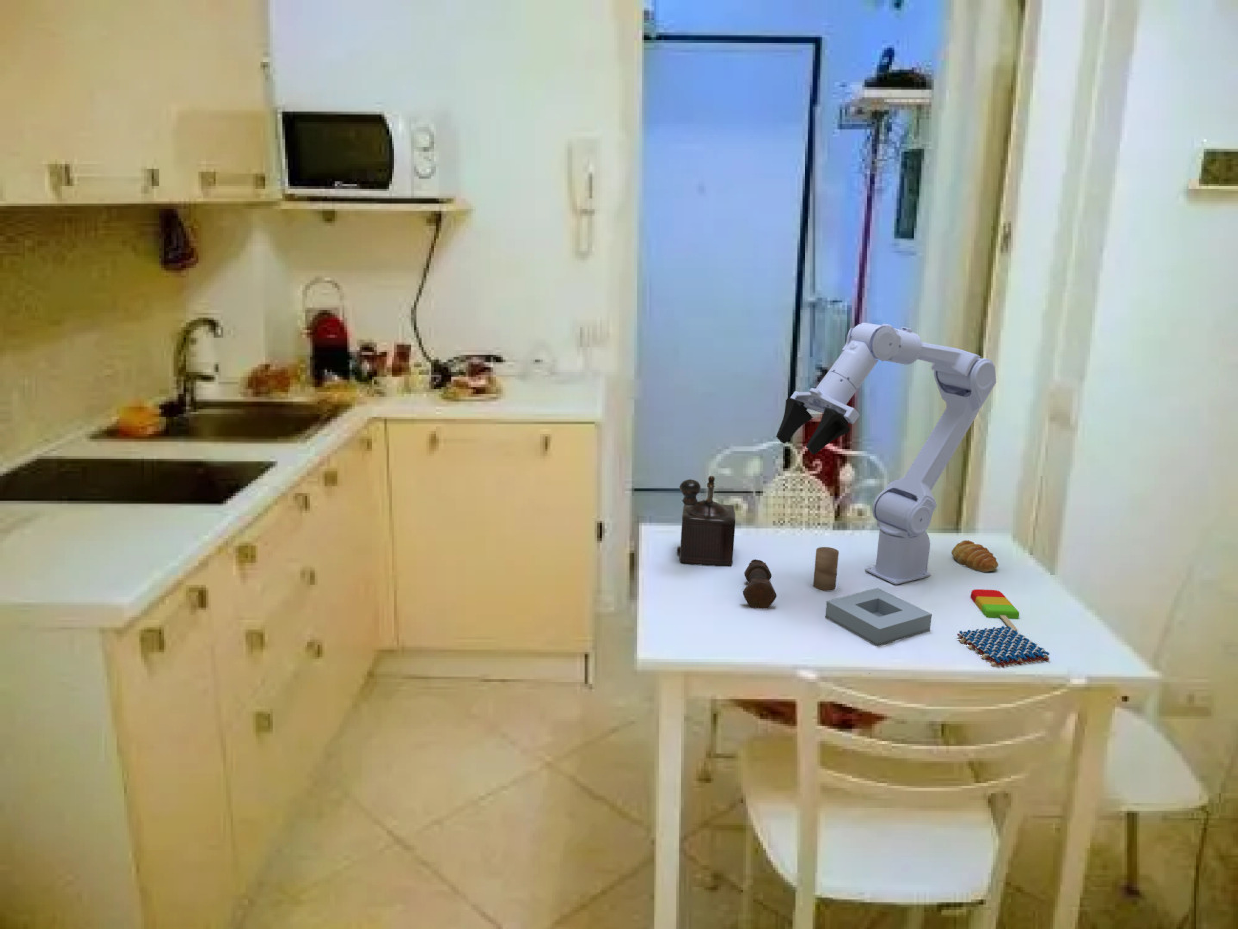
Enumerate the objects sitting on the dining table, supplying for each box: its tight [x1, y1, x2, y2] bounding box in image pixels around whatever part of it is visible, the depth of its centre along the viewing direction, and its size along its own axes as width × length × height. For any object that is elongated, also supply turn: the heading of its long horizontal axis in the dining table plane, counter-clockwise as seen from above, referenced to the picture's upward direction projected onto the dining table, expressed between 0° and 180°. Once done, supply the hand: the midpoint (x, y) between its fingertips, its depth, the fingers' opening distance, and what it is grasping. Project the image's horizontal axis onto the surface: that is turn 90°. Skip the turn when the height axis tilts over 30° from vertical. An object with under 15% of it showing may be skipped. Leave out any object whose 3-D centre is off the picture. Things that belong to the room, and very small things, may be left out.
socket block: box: [824, 587, 933, 647], centre depth 152 cm, size 12×12×3 cm
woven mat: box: [956, 625, 1051, 668], centre depth 144 cm, size 10×11×2 cm
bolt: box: [742, 559, 778, 610], centre depth 164 cm, size 6×5×15 cm
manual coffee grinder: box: [676, 475, 736, 567], centre depth 176 cm, size 16×11×18 cm
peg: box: [812, 546, 840, 592], centre depth 166 cm, size 4×4×7 cm
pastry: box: [951, 539, 999, 573], centre depth 179 cm, size 9×7×4 cm
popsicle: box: [970, 588, 1020, 632], centre depth 157 cm, size 6×15×2 cm, turn 177°
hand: (794, 445), depth 152 cm, fingers open, 7 cm apart
